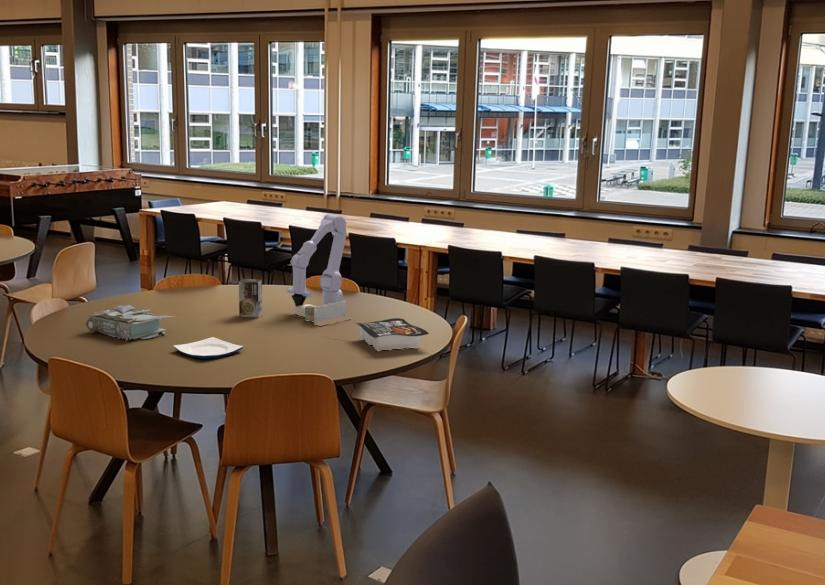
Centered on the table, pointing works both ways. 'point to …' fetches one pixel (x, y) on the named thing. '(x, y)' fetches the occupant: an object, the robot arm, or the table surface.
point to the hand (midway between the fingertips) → (299, 310)
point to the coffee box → (250, 298)
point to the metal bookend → (329, 311)
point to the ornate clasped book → (126, 323)
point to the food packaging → (391, 334)
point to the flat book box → (301, 309)
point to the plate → (208, 348)
